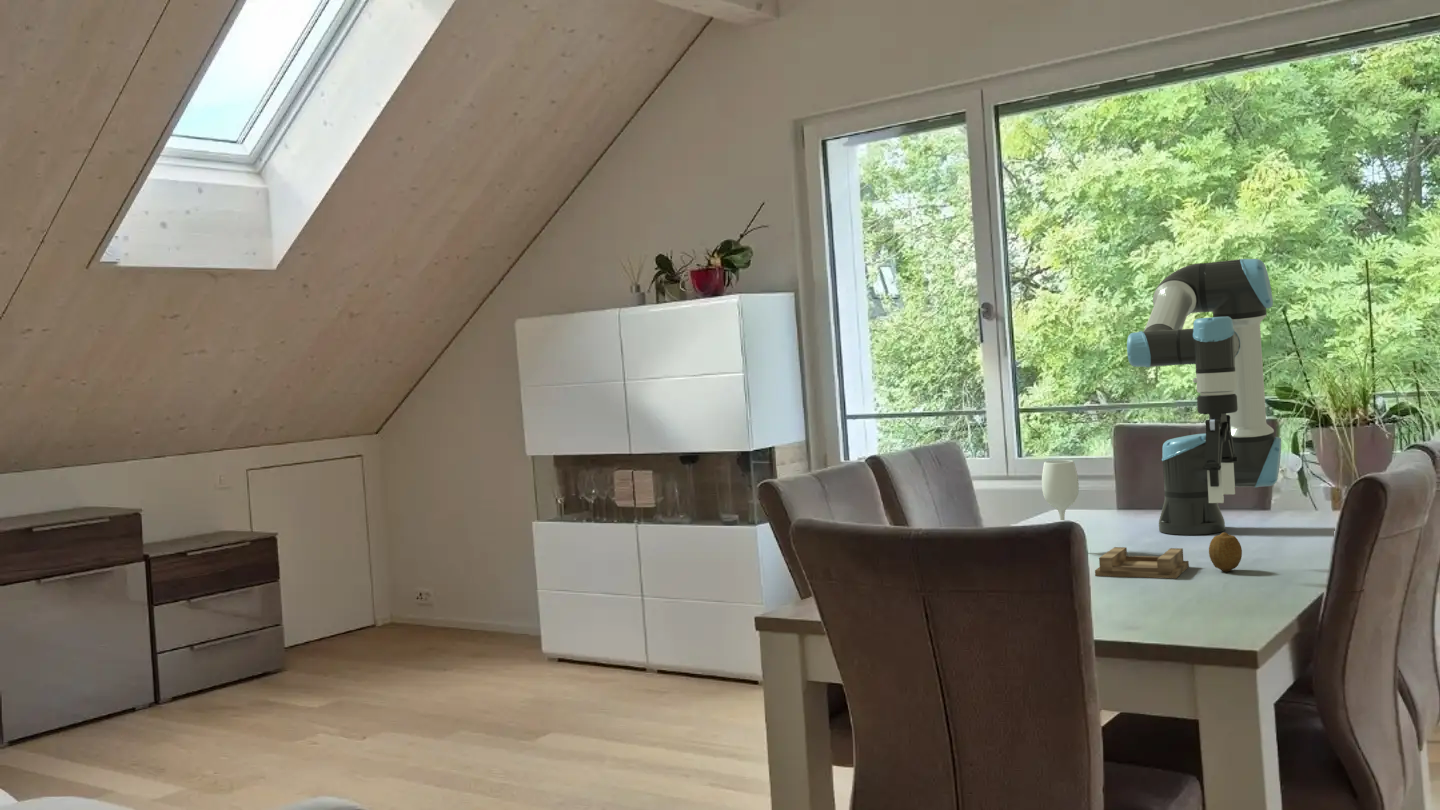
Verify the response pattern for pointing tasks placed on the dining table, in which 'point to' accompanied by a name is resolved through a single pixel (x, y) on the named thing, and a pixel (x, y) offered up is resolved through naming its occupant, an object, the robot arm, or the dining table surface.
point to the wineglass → (1060, 484)
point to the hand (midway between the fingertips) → (1222, 498)
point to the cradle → (1142, 564)
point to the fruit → (1225, 552)
